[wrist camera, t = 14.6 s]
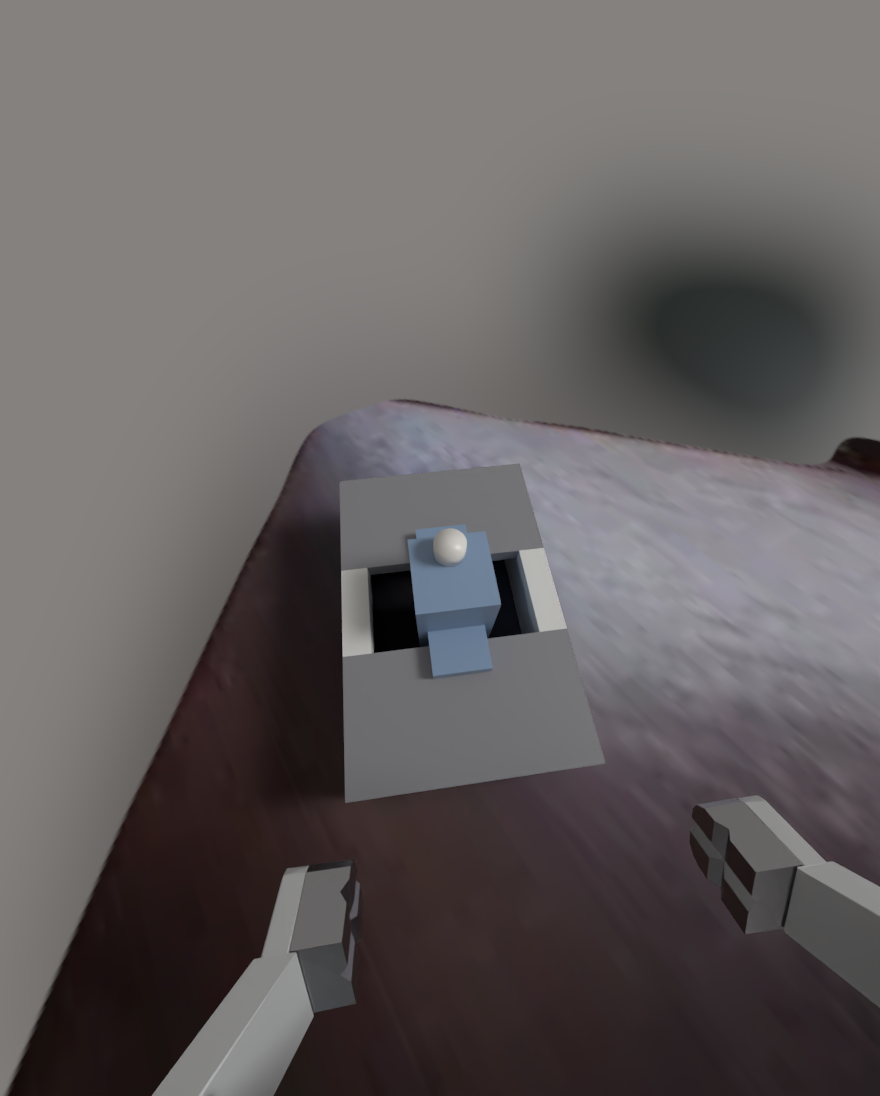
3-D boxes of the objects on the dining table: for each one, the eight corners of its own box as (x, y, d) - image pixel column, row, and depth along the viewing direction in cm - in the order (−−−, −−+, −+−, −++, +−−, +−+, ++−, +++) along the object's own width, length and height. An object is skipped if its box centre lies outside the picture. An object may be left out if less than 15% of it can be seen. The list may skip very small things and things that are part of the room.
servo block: (467, 562, 29) (479, 483, 21) (490, 686, 25) (515, 646, 17) (411, 568, 29) (402, 491, 21) (425, 695, 25) (420, 658, 17)
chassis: (506, 513, 33) (519, 463, 28) (569, 765, 24) (605, 763, 19) (355, 529, 32) (339, 481, 27) (365, 796, 23) (345, 803, 18)
